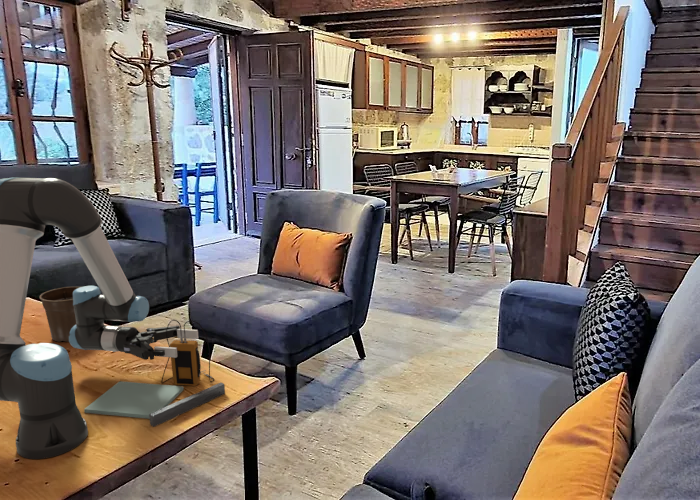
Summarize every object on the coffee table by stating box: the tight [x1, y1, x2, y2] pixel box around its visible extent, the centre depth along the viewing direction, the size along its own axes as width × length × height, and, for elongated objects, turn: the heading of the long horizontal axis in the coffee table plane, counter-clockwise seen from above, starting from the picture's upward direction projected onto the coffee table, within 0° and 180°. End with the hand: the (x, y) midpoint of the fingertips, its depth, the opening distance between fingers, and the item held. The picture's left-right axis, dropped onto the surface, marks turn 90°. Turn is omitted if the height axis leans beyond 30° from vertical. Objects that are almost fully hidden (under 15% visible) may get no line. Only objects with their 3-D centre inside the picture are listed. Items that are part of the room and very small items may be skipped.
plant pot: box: [39, 286, 81, 343], centre depth 194 cm, size 16×16×16 cm
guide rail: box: [149, 382, 226, 428], centre depth 145 cm, size 22×2×3 cm, turn 140°
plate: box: [83, 380, 184, 420], centre depth 149 cm, size 16×20×1 cm
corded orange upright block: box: [161, 319, 215, 387], centre depth 160 cm, size 15×10×20 cm
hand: (187, 343), depth 160 cm, fingers open, 13 cm apart
